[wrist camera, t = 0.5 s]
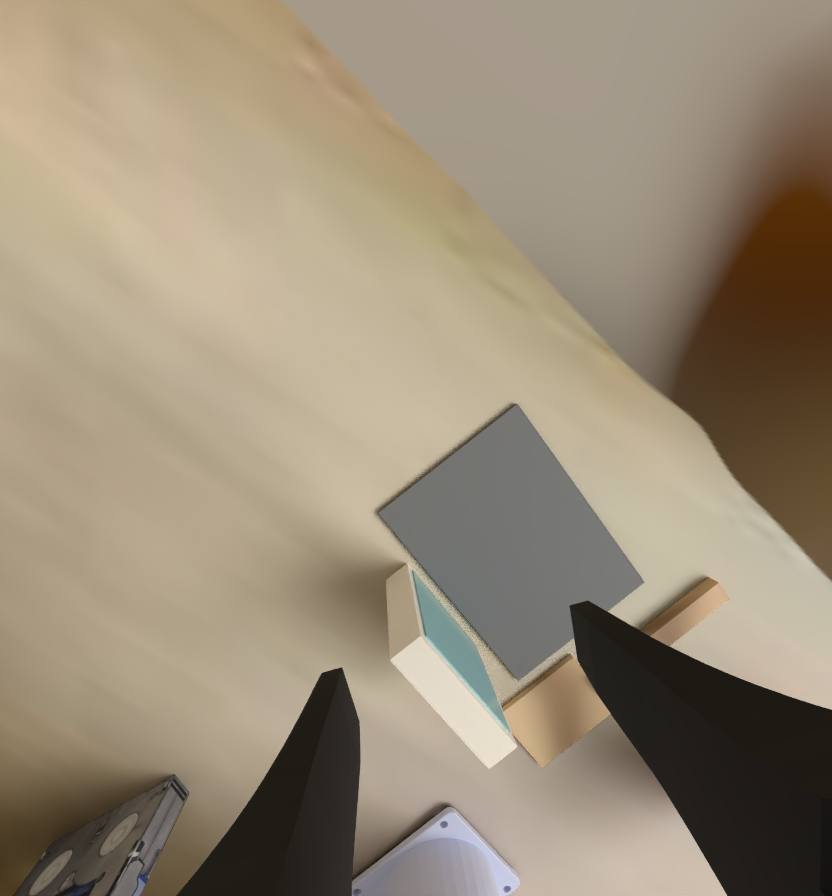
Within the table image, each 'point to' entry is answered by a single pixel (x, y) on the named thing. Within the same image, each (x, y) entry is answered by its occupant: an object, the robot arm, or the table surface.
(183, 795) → the mini dv tape
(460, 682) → the tile
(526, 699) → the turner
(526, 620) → the mat
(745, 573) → the table surface
